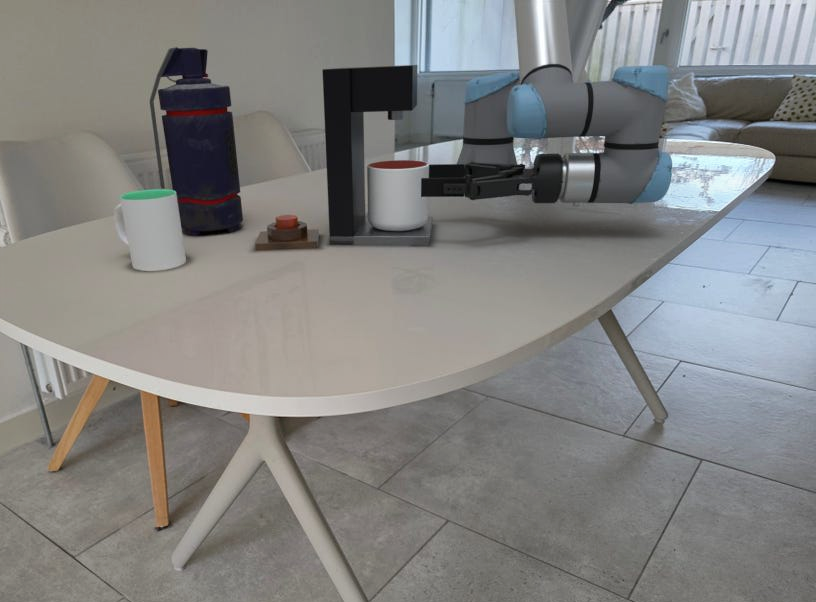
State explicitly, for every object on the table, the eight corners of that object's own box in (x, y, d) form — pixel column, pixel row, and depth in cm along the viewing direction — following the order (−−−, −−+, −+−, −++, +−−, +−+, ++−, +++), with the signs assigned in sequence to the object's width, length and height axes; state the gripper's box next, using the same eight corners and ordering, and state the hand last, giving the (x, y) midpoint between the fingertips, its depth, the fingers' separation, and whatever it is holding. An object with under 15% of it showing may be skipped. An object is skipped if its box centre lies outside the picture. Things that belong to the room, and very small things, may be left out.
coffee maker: (432, 225, 111) (436, 63, 99) (428, 245, 98) (433, 64, 87) (343, 224, 113) (338, 68, 102) (329, 245, 101) (322, 69, 90)
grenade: (238, 218, 121) (220, 47, 108) (248, 232, 111) (230, 44, 98) (166, 226, 118) (138, 50, 105) (169, 241, 107) (139, 47, 94)
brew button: (298, 224, 104) (298, 214, 103) (297, 230, 100) (296, 219, 100) (277, 225, 104) (276, 215, 103) (275, 230, 100) (274, 220, 100)
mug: (102, 264, 96) (88, 196, 91) (140, 251, 102) (129, 186, 98) (160, 273, 90) (148, 201, 86) (197, 258, 97) (187, 190, 92)
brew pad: (319, 236, 107) (318, 218, 105) (317, 248, 99) (316, 230, 98) (261, 238, 107) (259, 220, 106) (255, 250, 100) (253, 232, 98)
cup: (430, 232, 100) (432, 168, 96) (369, 234, 100) (367, 170, 96) (424, 218, 109) (425, 159, 105) (367, 220, 109) (366, 161, 105)
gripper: (569, 220, 88) (418, 220, 91) (547, 188, 110) (426, 189, 114) (576, 166, 84) (419, 167, 88) (552, 143, 107) (427, 146, 110)
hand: (423, 179), depth 101 cm, fingers open, 13 cm apart
